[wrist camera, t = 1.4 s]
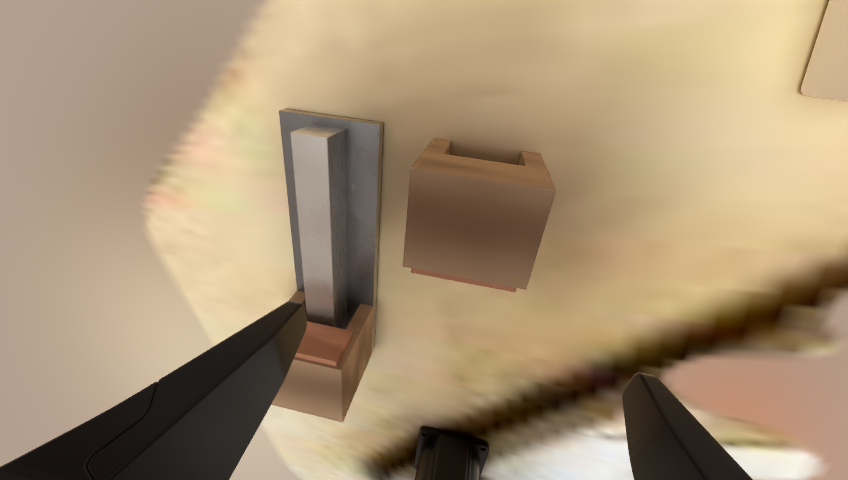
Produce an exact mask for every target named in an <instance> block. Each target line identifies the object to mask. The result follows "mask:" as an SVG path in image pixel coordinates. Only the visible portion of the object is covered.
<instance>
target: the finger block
mask: <svg viewBox="0 0 848 480" xmlns="http://www.w3.org/2000/svg"><path fill="white" fill-rule="evenodd" d="M450 144H451V141H448V140H441V139H433V140H432V141H431V143H430V144H429V145H428V147H427V148H426V149H425V150H424V152H423V153H422V154H421V156H420V157H419V158H418V160H417V161H416V162H415V163H414V165H413V166H412V167H411V173H410V186H409V198H408V210H407V222H406V234H405V247H404V259H403V266H404V267H409V268H411V272H412V273H417V274H422V275H428V276H433V277H438V278H443V279H449V280H454V281H459V282H464V283H470V284H475V285H480V286H485V287H491V288H496V289H501V290H506V291H511V292H516V288H520V289H525V290H526V288H527V285H528V281H529V278H530V275H531V271H532V268H533V265H534V261H535V258H536V255H537V252H538V248H539V245H540V242H541V238H542V235H543V232H544V229H545V225H546V222H547V219H548V215H549V212H550V209H551V206H552V202H553V199H554V196H555V192H556V189H555V187H554V185H553V182H552V180H551V178H550V175H549V173H548V171H547V169H546V166H545V164H544V162H543V159H542V157H541V155H540V154H538V153H532V152H525V151H522V152H521V157H520V161H519V165H515V164H508V163H501V162H495V161H488V160H481V159H474V158H468V157H461V156H454V155H449V152H450Z"/></svg>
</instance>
